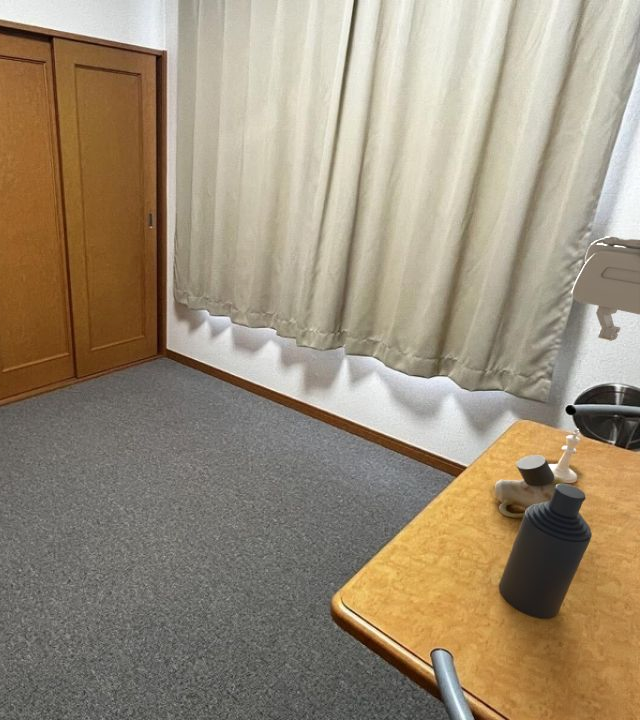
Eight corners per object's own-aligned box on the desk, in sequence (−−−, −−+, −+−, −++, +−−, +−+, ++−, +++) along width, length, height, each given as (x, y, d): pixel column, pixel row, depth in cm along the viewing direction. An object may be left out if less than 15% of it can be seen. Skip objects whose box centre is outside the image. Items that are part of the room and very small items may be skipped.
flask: (540, 580, 67) (583, 476, 60) (569, 622, 61) (620, 512, 54) (489, 575, 68) (525, 472, 61) (513, 615, 62) (556, 506, 55)
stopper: (550, 487, 75) (540, 469, 75) (520, 486, 78) (512, 469, 78) (558, 471, 77) (549, 454, 77) (529, 471, 80) (520, 455, 80)
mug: (485, 486, 86) (531, 449, 82) (537, 528, 82) (588, 492, 78) (483, 499, 80) (532, 460, 76) (538, 545, 76) (593, 507, 72)
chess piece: (580, 476, 88) (599, 430, 84) (570, 486, 85) (589, 439, 81) (549, 464, 92) (565, 419, 88) (538, 473, 89) (555, 427, 85)
